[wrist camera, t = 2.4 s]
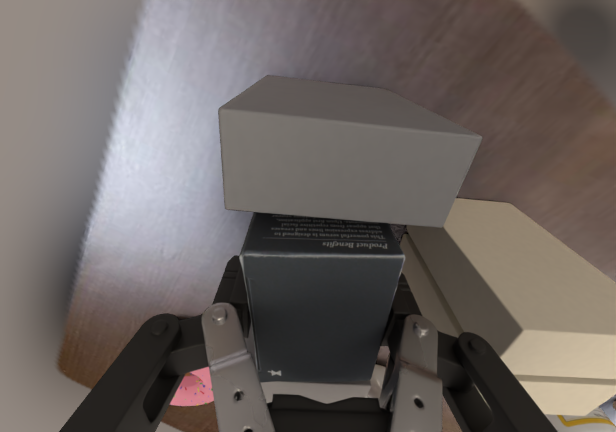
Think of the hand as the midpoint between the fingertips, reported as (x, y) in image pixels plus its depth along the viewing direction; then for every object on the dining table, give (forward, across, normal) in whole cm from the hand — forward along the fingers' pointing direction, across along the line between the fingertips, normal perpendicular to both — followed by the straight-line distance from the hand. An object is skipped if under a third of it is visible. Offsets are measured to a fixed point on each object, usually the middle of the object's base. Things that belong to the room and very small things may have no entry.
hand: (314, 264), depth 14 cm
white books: (+7, -11, +2) cm, 13 cm away
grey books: (+7, 0, 0) cm, 7 cm away
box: (+7, 0, 0) cm, 7 cm away
